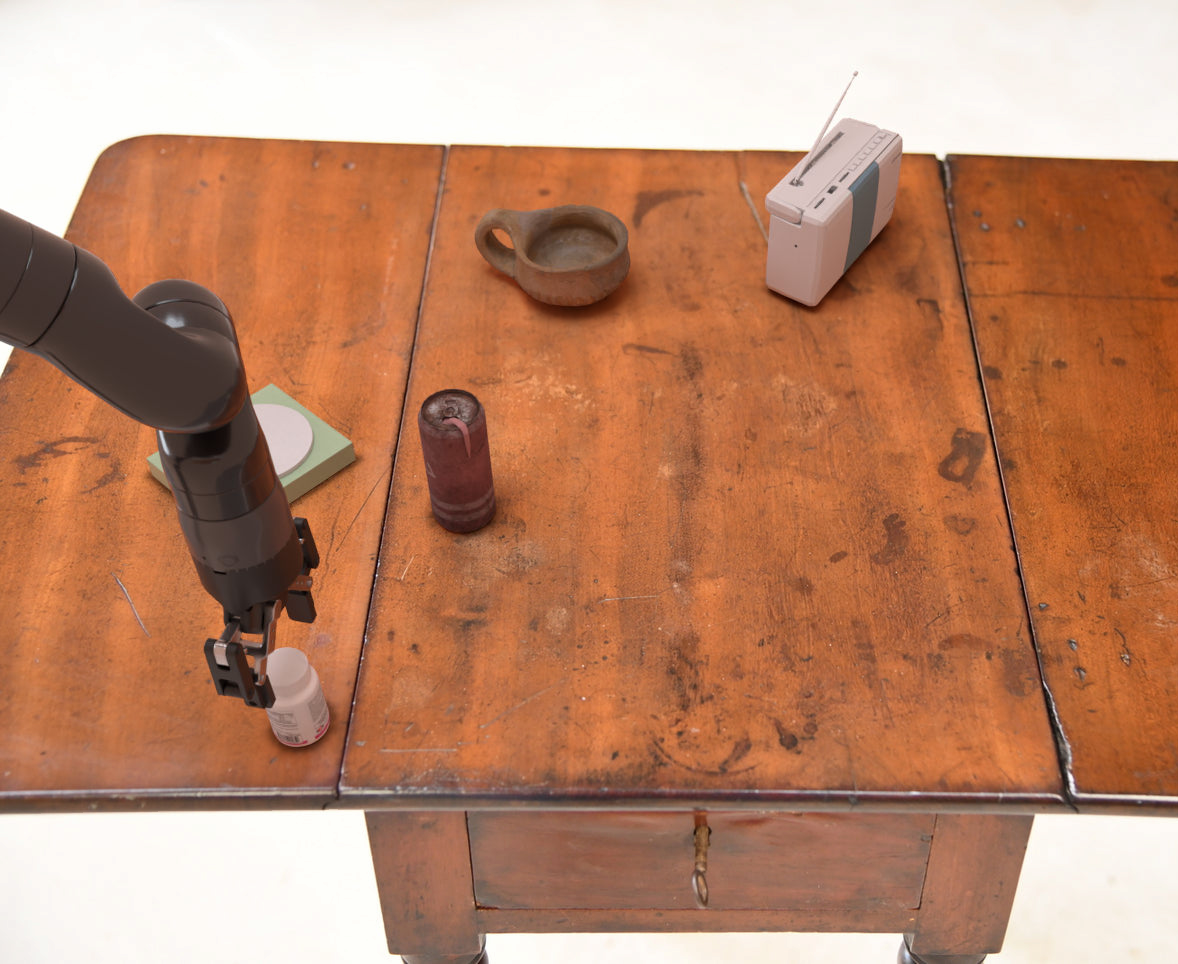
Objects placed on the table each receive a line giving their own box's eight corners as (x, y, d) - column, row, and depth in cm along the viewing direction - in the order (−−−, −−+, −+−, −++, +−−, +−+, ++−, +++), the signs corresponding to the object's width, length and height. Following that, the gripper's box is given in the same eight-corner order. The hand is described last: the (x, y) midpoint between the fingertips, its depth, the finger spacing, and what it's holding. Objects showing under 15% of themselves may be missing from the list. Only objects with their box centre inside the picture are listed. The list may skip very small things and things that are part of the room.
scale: (232, 542, 133) (224, 519, 131) (152, 475, 138) (143, 453, 136) (356, 459, 141) (351, 437, 139) (276, 400, 147) (270, 377, 144)
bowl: (464, 318, 155) (459, 232, 150) (485, 272, 167) (481, 191, 162) (625, 325, 155) (625, 239, 150) (634, 278, 167) (634, 197, 162)
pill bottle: (316, 692, 121) (298, 633, 115) (340, 730, 119) (323, 672, 113) (264, 718, 119) (243, 660, 113) (287, 758, 117) (267, 700, 111)
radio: (816, 317, 160) (833, 168, 145) (754, 292, 162) (764, 144, 148) (894, 226, 172) (916, 81, 158) (835, 205, 175) (851, 60, 161)
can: (458, 546, 134) (443, 442, 124) (421, 509, 137) (403, 404, 127) (510, 516, 137) (499, 412, 127) (472, 480, 140) (458, 376, 130)
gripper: (231, 451, 106) (274, 586, 118) (145, 594, 97) (201, 725, 108) (325, 466, 105) (359, 600, 117) (248, 611, 96) (293, 742, 108)
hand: (283, 660), depth 113 cm, fingers open, 8 cm apart
